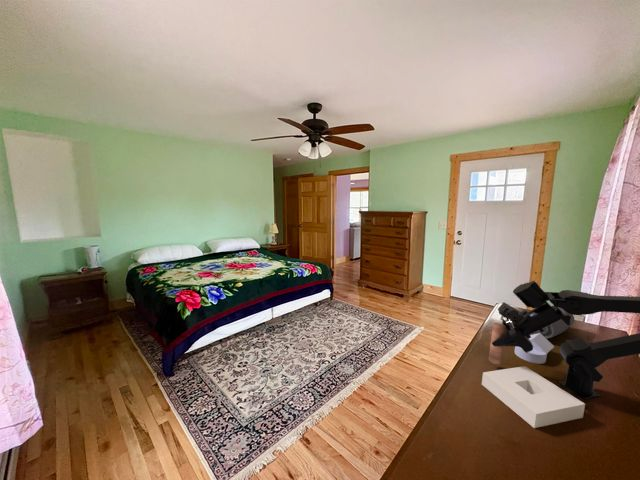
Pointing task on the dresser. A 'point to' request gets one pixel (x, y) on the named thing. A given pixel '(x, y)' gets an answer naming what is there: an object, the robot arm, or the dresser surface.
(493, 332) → the peg
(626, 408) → the dresser surface
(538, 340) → the wedge on round base
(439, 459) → the dresser surface
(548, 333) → the bluetooth speaker
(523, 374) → the hole block
